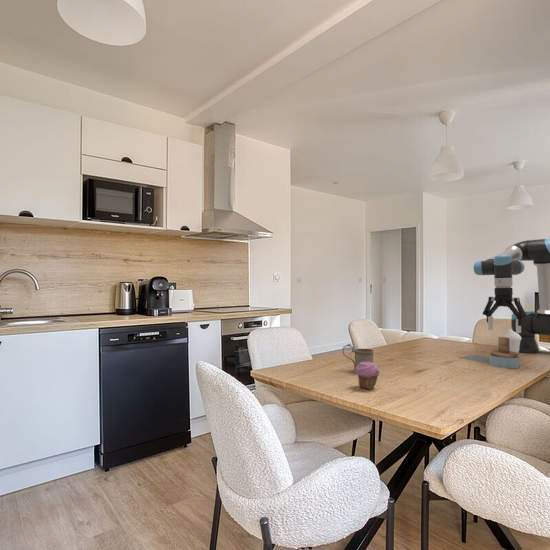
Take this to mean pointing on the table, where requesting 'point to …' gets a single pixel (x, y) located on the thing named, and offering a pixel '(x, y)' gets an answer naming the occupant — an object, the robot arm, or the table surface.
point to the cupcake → (367, 374)
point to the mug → (360, 356)
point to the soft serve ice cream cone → (513, 340)
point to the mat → (476, 358)
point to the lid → (504, 349)
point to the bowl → (504, 362)
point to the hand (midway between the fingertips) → (504, 331)
